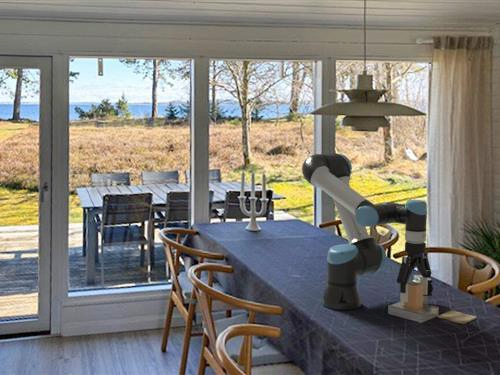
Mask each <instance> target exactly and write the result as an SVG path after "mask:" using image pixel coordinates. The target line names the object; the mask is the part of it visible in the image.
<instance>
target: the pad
mask: <svg viewBox="0 0 500 375" xmlns="http://www.w3.org/2000/svg"><path fill="white" fill-rule="evenodd" d="M437 318H439V319H441V320H442V319H443V320H446V321H449V322H454V323H457V324H462V325H465V324H467V323H469V322H471V321H473V320H476V319H477V318H478V317H477V316H475V315H472V314H467V313H464V312H460V311H456V310H449V311H446V312H444V313H442V314H438V316H437Z"/></svg>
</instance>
